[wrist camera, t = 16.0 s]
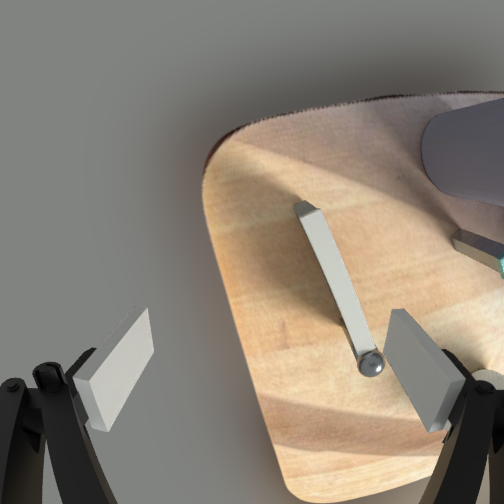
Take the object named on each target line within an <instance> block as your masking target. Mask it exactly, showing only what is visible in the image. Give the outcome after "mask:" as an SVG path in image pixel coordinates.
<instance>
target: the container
mask: <svg viewBox="0 0 504 504" xmlns="http://www.w3.org/2000/svg"><path fill="white" fill-rule="evenodd" d="M421 150H422V159H423V164H424V167H425V170H426V172H427V174H428V176H429V178H430V180H431V181H432V182H433V184H434V185H435V186H436V187H437V188H438V189H439V190H441V191H442V192H444V193H445V194H448V195H450V196H454V197H459V198H465V199H470V200H475V201H479V202H484V203H489V204H493V205H498V206H502V207H504V98H503V99H498V100H494V101H490V102H486V103H482V104H477V105H474V106H470V107H466V108H462V109H458V110H454V111H451V112H447V113H444V114H440V115H438V116H436V117H435V118H433V119H432V120H431V121H430V122H429V123H428V125H427V127H426V129H425V131H424V134H423V137H422V144H421Z"/></svg>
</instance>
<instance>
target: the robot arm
mask: <svg viewBox="0 0 504 504" xmlns="http://www.w3.org/2000/svg"><path fill="white" fill-rule="evenodd" d="M153 352H154V348H153V341H152V335H151V329H150V322H149V316H148V308H147V307H136V306H134V308H133V309H132V310H131V311H130V312H129V313H128V314H127V315H126V316H125V317H124V319H123V320H122V321H121V322H120V323H119V324H118V325H117V327H115V329H114V330H113V331H112V332H111V333H110V334H109V336H108V337H107V338H106V339H105V340H104V341H103V342H102V343H101V345H100V346H99V347H98V348H91V349H89V350H87V351H85V352H84V353H83V354H82V355H81V356H80V357H79V359H78V360H77V361H76V362H75V363H74V365H72V366H71V367H70V368H69V370H68V371H67V372H66V373H65V374H64V372H63V370H62V367H61V365H60V364H58V363H56V362H45V363H42V364H40V365H39V366H37V367H36V368H35V369H34V370H33V373H32V375H33V377H34V379H35V382H36V384H37V387H38V388H27V386H26V384H25V382H24V380H22V379H21V378H10V379H8V380H6V381H5V382H3V383H2V385H1V386H0V504H42V484H43V465H44V453H45V443H46V440H47V445H48V450H49V454H50V459H51V464H52V467H53V472H54V476H55V479H56V483H57V487H58V490H59V493H60V497H61V499H62V503H63V504H118V503H117V501H116V499H115V497H114V495H113V493H112V491H111V488H110V487H109V484H108V482H107V480H106V477H105V475H104V473H103V470H102V468H101V466H100V463H99V461H98V458H97V456H96V453H95V451H94V448H93V445H92V443H91V440H90V437H89V434H88V431H87V429H86V427H85V423H86V422H87V420H88V419H89V421H90V423H91V425H92V428H94V429H98V430H101V431H106V432H109V430H110V428H111V426H112V425H113V423H114V421H115V419H116V417H117V415H118V413H119V412H120V410H121V408H122V407H123V405H124V403H125V401H126V399H127V398H128V396H129V394H130V392H131V390H132V389H133V387H134V385H135V383H136V382H137V380H138V378H139V376H140V375H141V373H142V371H143V369H144V368H145V366H146V364H147V362H148V361H149V359H150V357H151V356H152V354H153ZM383 354H384V355H385V357H386V359H387V360H388V362H389V364H390V366H391V367H392V369H393V371H394V372H395V374H396V376H397V378H398V379H399V381H400V383H401V385H402V386H403V388H404V390H405V392H406V393H407V395H408V397H409V399H410V401H411V402H412V404H413V406H414V408H415V410H416V412H417V413H418V415H419V417H420V419H421V421H422V423H423V424H424V426H425V428H426V430H427V432H428V433H431V432H435V431H439V430H442V429H443V428H444V426H445V424H446V422H447V420H449V422H450V423H451V427H450V429H449V431H448V433H447V435H446V436H445V438H444V440H443V442H442V443H444V445H443V448H442V451H441V454H440V456H439V459H438V461H437V464H436V466H435V469H434V471H433V474H432V476H431V479H430V481H429V483H428V485H427V488H426V490H425V492H424V494H423V496H422V499H421V500H420V502H419V504H475V503H476V500H477V497H478V493H479V490H480V486H481V483H482V479H483V475H484V470H485V466H486V461H487V457H488V459H489V476H490V477H489V479H490V504H504V390H496V388H495V387H494V386H493V385H492V384H491V383H489V382H487V381H484V380H476V379H475V378H474V377H473V376H472V375H471V374H470V372H469V371H468V370H467V369H466V368H465V367H464V366H463V364H462V363H461V362H460V361H458V359H457V358H456V357H455V355H454V354H452V353H451V352H449V351H447V350H446V349H442V350H441V349H440V348H439V347H438V346H437V344H436V343H435V342H434V341H433V340H432V339H431V338H430V336H429V335H428V334H427V333H426V332H425V331H424V330H423V329H422V328H421V326H420V325H419V324H418V323H417V322H416V321H415V320H414V319H413V318H412V317H411V316H410V314H409V313H408V312H407V311H406V310H405V309H392V311H391V316H390V322H389V327H388V332H387V337H386V341H385V346H384V351H383Z"/></svg>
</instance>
